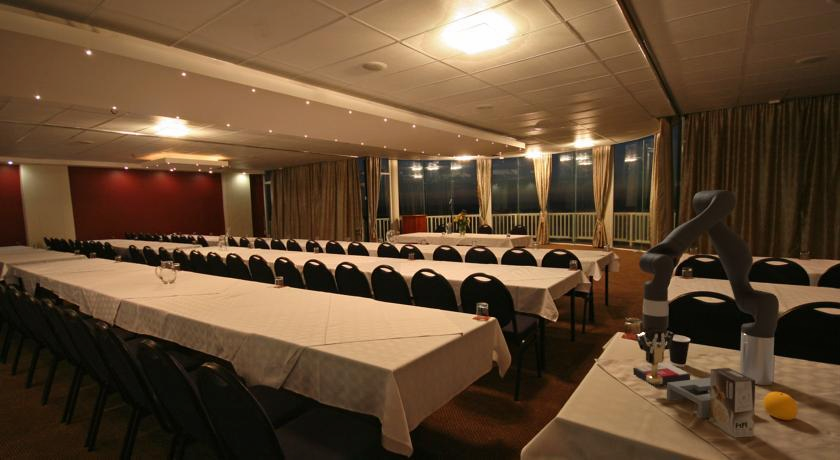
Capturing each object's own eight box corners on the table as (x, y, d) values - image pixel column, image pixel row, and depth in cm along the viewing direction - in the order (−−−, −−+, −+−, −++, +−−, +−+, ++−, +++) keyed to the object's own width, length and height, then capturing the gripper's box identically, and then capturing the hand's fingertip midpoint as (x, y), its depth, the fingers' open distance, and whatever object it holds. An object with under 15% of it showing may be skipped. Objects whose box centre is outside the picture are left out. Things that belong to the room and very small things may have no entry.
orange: (760, 408, 128) (761, 385, 128) (793, 414, 124) (794, 390, 124) (766, 419, 121) (767, 395, 121) (801, 426, 117) (802, 401, 117)
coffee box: (755, 436, 112) (757, 380, 111) (733, 438, 111) (736, 381, 111) (727, 419, 121) (729, 367, 120) (707, 420, 121) (709, 368, 120)
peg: (654, 377, 140) (655, 343, 139) (665, 383, 135) (666, 348, 135) (642, 379, 139) (643, 345, 138) (653, 385, 134) (654, 349, 134)
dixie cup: (661, 361, 167) (662, 335, 166) (678, 360, 168) (679, 334, 167) (676, 369, 159) (677, 341, 158) (694, 367, 160) (695, 340, 159)
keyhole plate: (710, 392, 138) (711, 377, 138) (749, 411, 126) (749, 394, 125) (666, 398, 134) (667, 382, 134) (701, 418, 122) (701, 400, 121)
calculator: (632, 365, 154) (667, 361, 157) (633, 376, 155) (667, 371, 157) (653, 377, 143) (690, 372, 146) (653, 389, 144) (690, 383, 146)
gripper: (664, 308, 141) (663, 356, 142) (629, 311, 138) (628, 360, 139) (682, 313, 134) (681, 364, 135) (645, 316, 131) (645, 368, 132)
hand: (654, 362), depth 137 cm, fingers closed on peg, 3 cm apart
